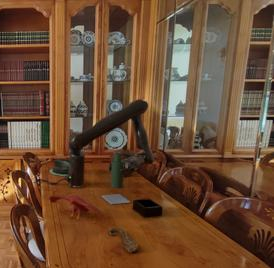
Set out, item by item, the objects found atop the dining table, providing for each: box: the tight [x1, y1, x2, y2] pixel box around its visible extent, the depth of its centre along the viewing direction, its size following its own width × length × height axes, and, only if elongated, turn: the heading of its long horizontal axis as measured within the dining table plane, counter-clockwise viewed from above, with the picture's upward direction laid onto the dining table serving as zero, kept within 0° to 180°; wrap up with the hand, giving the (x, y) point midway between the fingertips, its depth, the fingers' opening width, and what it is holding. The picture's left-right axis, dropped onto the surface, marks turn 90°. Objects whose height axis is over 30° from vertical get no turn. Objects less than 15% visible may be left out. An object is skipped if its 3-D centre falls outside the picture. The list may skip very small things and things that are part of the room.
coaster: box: [101, 193, 131, 206], centre depth 126 cm, size 11×11×1 cm
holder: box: [132, 198, 163, 219], centre depth 111 cm, size 9×9×4 cm
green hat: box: [48, 158, 69, 177], centre depth 174 cm, size 15×19×20 cm
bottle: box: [110, 153, 124, 189], centre depth 123 cm, size 6×6×18 cm
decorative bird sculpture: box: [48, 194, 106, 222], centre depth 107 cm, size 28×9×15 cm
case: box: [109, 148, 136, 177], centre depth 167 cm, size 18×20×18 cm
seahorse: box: [108, 226, 139, 254], centre depth 89 cm, size 6×15×2 cm, turn 10°
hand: (115, 169), depth 122 cm, fingers closed on bottle, 6 cm apart
